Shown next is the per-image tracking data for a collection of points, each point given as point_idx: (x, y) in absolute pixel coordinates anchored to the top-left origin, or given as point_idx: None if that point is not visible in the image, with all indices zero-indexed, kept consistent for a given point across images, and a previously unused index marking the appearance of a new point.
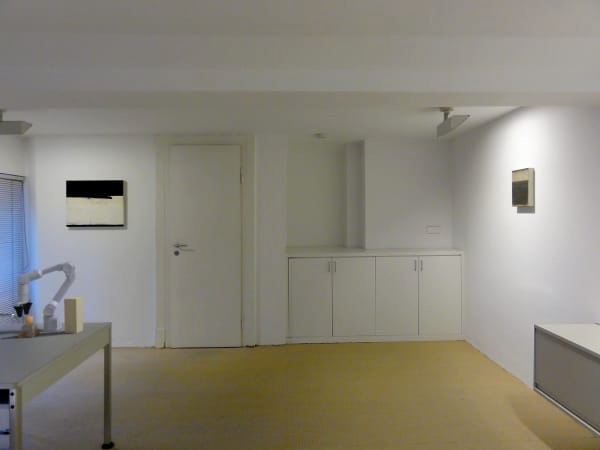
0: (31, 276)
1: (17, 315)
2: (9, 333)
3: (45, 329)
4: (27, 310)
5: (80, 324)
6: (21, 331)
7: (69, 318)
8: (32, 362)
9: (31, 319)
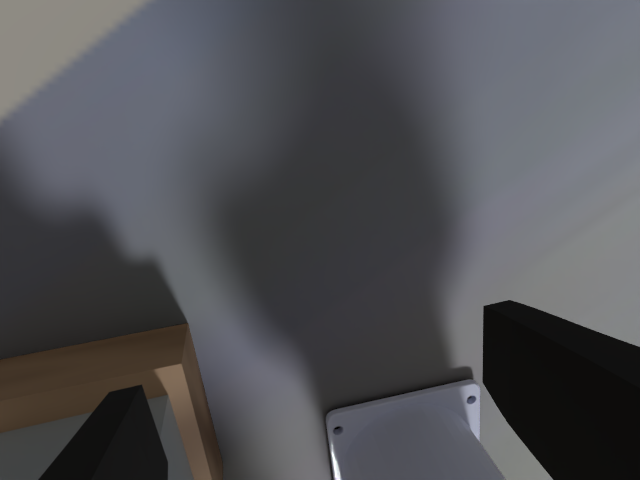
0: None
1: (78, 438)
2: (245, 6)
3: (346, 462)
4: (571, 461)
5: None
6: (45, 394)
7: None
8: None
9: None
